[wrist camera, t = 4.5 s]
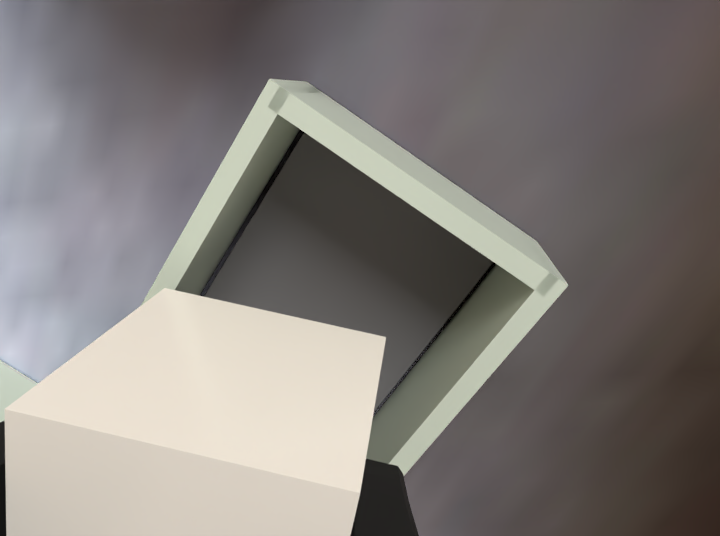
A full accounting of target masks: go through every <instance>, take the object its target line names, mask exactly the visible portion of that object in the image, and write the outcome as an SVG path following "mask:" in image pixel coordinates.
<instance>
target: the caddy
mask: <svg viewBox="0 0 720 536" xmlns="http://www.w3.org/2000/svg"><path fill="white" fill-rule="evenodd" d="M299 130H302V131H303V132H305V133H306V134H308V135H309V136H311V137H312V138H314V139H315V140H316V141H318V142H319V143H321V144H322V145H324V146H325V147H327V148H328V149H330V150H331V151H332V152H334V153H335V154H337V155H338V156H340V157H341V158H343V159H344V160H346V161H347V162H349V163H350V164H351V165H353V166H354V167H356V168H357V169H359V170H360V171H362V172H363V173H365V174H366V175H367V176H369V177H370V178H372V179H373V180H375V181H376V182H378V183H379V184H381V185H382V186H384V187H385V188H386V189H388V190H389V191H391V192H392V193H394V194H395V195H397V196H398V197H400V198H401V199H402V200H404V201H405V202H407V203H408V204H410V205H411V206H413V207H414V208H416V209H417V210H418V211H420V212H421V213H423V214H424V215H426V216H427V217H429V218H430V219H432V220H433V221H435V222H436V223H437V224H439V225H440V226H442V227H443V228H445V229H446V230H448V231H449V232H451V233H452V234H453V235H455V236H456V237H458V238H459V239H461V240H462V241H464V242H465V243H467V244H468V245H470V246H471V247H472V248H474V249H475V250H477V251H478V252H480V253H481V254H483V255H484V256H486V257H487V258H488V259H490V260H491V261H493V262H494V263H496V264H495V266H494V267H493V268H492V269H491V271H490V272H489V273H488V274H487V276H486V277H485V278H484V279H483V281H482V282H481V283H480V284H479V286H478V287H477V288H476V289H475V291H474V292H473V293H472V294H471V296H470V297H469V298H468V299H467V301H466V302H465V303H464V304H463V306H462V307H461V308H460V309H459V311H458V312H457V313H456V314H455V316H454V317H453V318H452V319H451V321H450V322H449V323H448V324H447V326H446V327H445V328H444V329H443V331H442V332H441V333H440V334H439V336H438V337H437V338H436V339H435V341H434V342H433V343H432V344H431V346H430V347H429V348H428V349H427V351H426V352H425V353H424V354H423V356H422V357H421V358H420V359H419V361H418V362H417V363H416V364H415V366H414V367H413V368H412V369H411V371H410V372H409V373H408V374H407V376H406V377H405V378H404V379H403V381H402V382H401V383H400V385H399V386H398V387H397V388H396V390H395V391H394V392H393V393H392V395H391V396H390V397H389V398H388V400H387V401H386V402H385V403H384V405H383V406H382V407H381V408H380V410H379V411H378V412H377V413H376V415H375V416H374V417H373V419H372V425H371V431H370V437H369V443H368V449H367V455H366V459H370V460H374V461H379V462H383V463H387V464H392V465H396V466H398V467H399V468H400V470H401V471H402V473H403V476H404V475H405V474H406V473H407V472H408V471H409V469H410V468H411V467H412V466H413V465H414V464H415V462H416V461H417V460H418V459H419V458H420V457H421V455H422V454H423V453H424V452H425V451H426V450H427V449H428V447H429V446H430V445H431V444H432V443H433V442H434V440H435V439H436V438H437V437H438V436H439V435H440V433H441V432H442V431H443V430H444V429H445V428H446V427H447V425H448V424H449V423H450V422H451V421H452V420H453V418H454V417H455V416H456V415H457V414H458V413H459V411H460V410H461V409H462V408H463V407H464V406H465V404H466V403H467V402H468V401H469V400H470V399H471V398H472V396H473V395H474V394H475V393H476V392H477V391H478V389H479V388H480V387H481V386H482V385H483V384H484V382H485V381H486V380H487V379H488V378H489V377H490V376H491V374H492V373H493V372H494V371H495V370H496V369H497V367H498V366H499V365H500V364H501V363H502V362H503V360H504V359H505V358H506V357H507V356H508V355H509V353H510V352H511V351H512V350H513V349H514V348H515V347H516V345H517V344H518V343H519V342H520V341H521V340H522V338H523V337H524V336H525V335H526V334H527V333H528V331H529V330H530V329H531V328H532V327H533V326H534V325H535V323H536V322H537V321H538V320H539V319H540V318H541V316H542V315H543V314H544V313H545V312H546V311H547V309H548V308H549V307H550V306H551V305H552V304H553V302H554V301H555V300H556V299H557V298H558V297H559V296H560V294H561V293H562V292H563V291H564V290H565V289H566V287H567V286H568V284H567V283H566V281H565V280H564V278H563V277H562V276H561V274H560V273H559V271H558V270H557V269H556V267H555V266H554V265H553V263H552V262H551V260H550V259H549V258H548V256H547V255H546V253H545V252H544V251H543V249H542V248H541V247H540V245H539V244H538V242H537V241H536V240H534V239H533V238H531V237H530V236H528V235H527V234H526V233H524V232H523V231H521V230H520V229H518V228H517V227H516V226H514V225H513V224H511V223H510V222H508V221H507V220H505V219H504V218H503V217H501V216H500V215H498V214H497V213H495V212H494V211H492V210H491V209H490V208H488V207H487V206H485V205H484V204H482V203H481V202H479V201H478V200H477V199H475V198H474V197H472V196H471V195H469V194H468V193H467V192H465V191H464V190H462V189H461V188H459V187H458V186H456V185H455V184H454V183H452V182H451V181H449V180H448V179H446V178H445V177H443V176H442V175H441V174H439V173H438V172H436V171H435V170H433V169H432V168H430V167H429V166H428V165H426V164H425V163H423V162H422V161H420V160H419V159H418V158H416V157H415V156H413V155H412V154H410V153H409V152H407V151H406V150H405V149H403V148H402V147H400V146H399V145H397V144H396V143H394V142H393V141H392V140H390V139H389V138H387V137H386V136H384V135H383V134H382V133H380V132H379V131H377V130H376V129H374V128H373V127H371V126H370V125H369V124H367V123H366V122H364V121H363V120H361V119H360V118H358V117H357V116H356V115H354V114H353V113H351V112H350V111H348V110H347V109H345V108H344V107H343V106H341V105H340V104H338V103H337V102H335V101H334V100H333V99H331V98H330V97H328V96H327V95H325V94H324V93H322V92H321V91H320V90H318V89H317V88H315V87H314V86H312V85H311V84H309V83H308V82H305V81H292V80H279V79H269V81H268V82H267V84H266V86H265V88H264V89H263V91H262V93H261V95H260V96H259V98H258V100H257V102H256V103H255V105H254V107H253V109H252V110H251V112H250V114H249V116H248V118H247V119H246V121H245V123H244V125H243V126H242V128H241V130H240V132H239V133H238V135H237V137H236V139H235V140H234V142H233V144H232V146H231V148H230V149H229V151H228V153H227V155H226V156H225V158H224V160H223V162H222V163H221V165H220V167H219V169H218V170H217V172H216V174H215V176H214V177H213V179H212V181H211V183H210V185H209V186H208V188H207V190H206V192H205V193H204V195H203V197H202V199H201V200H200V202H199V204H198V206H197V207H196V209H195V211H194V213H193V215H192V216H191V218H190V220H189V222H188V223H187V225H186V227H185V229H184V230H183V232H182V234H181V236H180V237H179V239H178V241H177V243H176V245H175V246H174V248H173V250H172V252H171V253H170V255H169V257H168V259H167V260H166V262H165V264H164V266H163V267H162V269H161V271H160V273H159V274H158V276H157V278H156V280H155V282H154V283H153V285H152V287H151V289H150V290H149V292H148V294H147V296H146V297H145V299H144V301H143V303H142V304H141V305H143V304H144V303H145V302H147V301H148V300H149V299H151V298H152V297H153V296H155V295H156V294H157V293H159V292H160V291H161V290H163V289H164V288H167V289H172V290H176V291H181V292H185V293H190V294H194V295H199V296H200V294H201V292H202V291H203V289H204V287H205V286H206V284H207V282H208V281H209V279H210V277H211V276H212V274H213V272H214V271H215V269H216V268H217V266H218V264H219V263H220V261H221V259H222V258H223V256H224V254H225V253H226V251H227V249H228V248H229V246H230V244H231V243H232V241H233V239H234V238H235V236H236V234H237V233H238V231H239V230H240V228H241V226H242V225H243V223H244V221H245V220H246V218H247V216H248V215H249V213H250V211H251V210H252V208H253V206H254V205H255V203H256V201H257V200H258V198H259V196H260V195H261V193H262V192H263V190H264V188H265V187H266V185H267V183H268V182H269V180H270V178H271V177H272V175H273V173H274V172H275V170H276V168H277V167H278V165H279V163H280V162H281V160H282V158H283V157H284V155H285V153H286V152H287V150H288V149H289V147H290V145H291V144H292V142H293V140H294V139H295V137H296V135H297V134H298V132H299ZM37 384H38V383H36V382H35V381H33V380H31V379H30V378H28V377H27V376H25V375H23V374H22V373H20V372H18V371H17V370H15V369H14V368H12V367H10V366H9V365H7V364H6V363H4V362H2V361H1V360H0V422H2V421H5V411H4V409H5V408H6V407H8V406H9V405H10V404H12V403H13V402H14V401H16V400H17V399H18V398H20V397H21V396H22V395H24V394H25V393H26V392H28V391H29V390H30V389H32V388H33V387H34V386H36V385H37Z"/></svg>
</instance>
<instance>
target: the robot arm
mask: <svg viewBox="0 0 720 536" xmlns="http://www.w3.org/2000/svg"><path fill="white" fill-rule="evenodd" d="M0 536H6V479H5V421H2V422H0ZM350 536H419V535H418V532H417V528H416V525H415V522H414V518H413V515H412V511H411V508H410V504H409V500H408V496H407V492H406V487H405V482H404V476H403V473H402V471H401V470H400V468H399V467H398V466H396V465H392V464H387V463H383V462H379V461H374V460H370V459H366V461H365V467H364V473H363V479H362V485H361V491H360V496H359V501H358V505H357V509H356V514H355V518H354V522H353V527H352V531H351V535H350Z"/></svg>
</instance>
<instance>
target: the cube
mask: <svg viewBox="0 0 720 536" xmlns="http://www.w3.org/2000/svg"><path fill="white" fill-rule="evenodd" d="M385 341H386V337H383V336H379V335H374V334H370V333H365V332H361V331H356V330H352V329H347V328H343V327H338V326H334V325H329V324H325V323H320V322H316V321H311V320H307V319H302V318H298V317H293V316H289V315H284V314H280V313H275V312H271V311H266V310H262V309H257V308H253V307H248V306H244V305H239V304H235V303H230V302H226V301H221V300H217V299H212V298H208V297H203V296H199V295H194V294H190V293H185V292H181V291H176V290H172V289H167V288H164V289H163V290H161V291H160V292H159V293H157V294H156V295H155V296H153V297H152V298H151V299H149V300H148V301H147V302H145V303H144V304H143V305H141V306H140V307H139V308H137V309H136V310H135V311H133V312H132V313H131V314H130V315H128V316H127V317H126V318H124V319H123V320H122V321H120V322H119V323H118V324H116V325H115V326H114V327H112V328H111V329H110V330H108V331H107V332H106V333H104V334H103V335H102V336H100V337H99V338H98V339H96V340H95V341H94V342H92V343H91V344H90V345H89V346H87V347H86V348H85V349H83V350H82V351H81V352H79V353H78V354H77V355H75V356H74V357H73V358H71V359H70V360H69V361H67V362H66V363H65V364H63V365H62V366H61V367H59V368H58V369H57V370H55V371H54V372H53V373H51V374H50V375H49V376H47V377H46V378H45V379H44V380H42V381H41V382H40V383H38V384H37V385H36V386H34V387H33V388H32V389H30V390H29V391H28V392H26V393H25V394H24V395H22V396H21V397H20V398H18V399H17V400H16V401H14V402H13V403H12V404H10V405H9V406H8V407H6V408H5V409H4V411H5V479H6V536H350V535H351V531H352V527H353V522H354V518H355V514H356V509H357V505H358V501H359V496H360V491H361V485H362V479H363V473H364V467H365V461H366V455H367V449H368V443H369V437H370V431H371V425H372V419H373V413H374V407H375V401H376V395H377V389H378V383H379V377H380V371H381V365H382V359H383V353H384V347H385Z"/></svg>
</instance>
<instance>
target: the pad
mask: <svg viewBox="0 0 720 536" xmlns="http://www.w3.org/2000/svg"><path fill="white" fill-rule="evenodd" d="M492 263H493V261H491V260H490V259H488V258H487V257H486V256H484V255H483V254H481V253H480V252H478V251H477V250H475V249H474V248H472V247H471V246H470V245H468V244H467V243H465V242H464V241H462V240H461V239H459V238H458V237H456V236H455V235H453V234H452V233H451V232H449V231H448V230H446V229H445V228H443V227H442V226H440V225H439V224H437V223H436V222H435V221H433V220H432V219H430V218H429V217H427V216H426V215H424V214H423V213H421V212H420V211H418V210H417V209H416V208H414V207H413V206H411V205H410V204H408V203H407V202H405V201H404V200H402V199H401V198H400V197H398V196H397V195H395V194H394V193H392V192H391V191H389V190H388V189H386V188H385V187H384V186H382V185H381V184H379V183H378V182H376V181H375V180H373V179H372V178H370V177H369V176H367V175H366V174H365V173H363V172H362V171H360V170H359V169H357V168H356V167H354V166H353V165H351V164H350V163H349V162H347V161H346V160H344V159H343V158H341V157H340V156H338V155H337V154H335V153H334V152H332V151H331V150H330V149H328V148H327V147H325V146H324V145H322V144H321V143H319V142H318V141H316V140H315V139H314V138H312V137H311V136H309V135H308V134H306V133H305V132H304V133H303V135H302V137H301V138H300V140H299V142H298V143H297V145H296V146H295V148H294V150H293V151H292V153H291V155H290V156H289V158H288V160H287V161H286V163H285V165H284V166H283V168H282V169H281V171H280V173H279V174H278V176H277V178H276V179H275V181H274V183H273V184H272V186H271V188H270V189H269V191H268V192H267V194H266V196H265V197H264V199H263V201H262V202H261V204H260V206H259V207H258V209H257V211H256V212H255V214H254V215H253V217H252V219H251V220H250V222H249V224H248V225H247V227H246V229H245V230H244V232H243V234H242V235H241V237H240V238H239V240H238V242H237V243H236V245H235V247H234V248H233V250H232V252H231V253H230V255H229V257H228V258H227V260H226V261H225V263H224V265H223V266H222V268H221V270H220V271H219V273H218V275H217V276H216V278H215V280H214V281H213V283H212V284H211V286H210V288H209V289H208V291H207V293H206V294H205V296H204V297H208V298H212V299H217V300H221V301H226V302H230V303H235V304H239V305H244V306H248V307H253V308H257V309H262V310H266V311H271V312H275V313H280V314H284V315H289V316H293V317H298V318H302V319H307V320H311V321H316V322H320V323H325V324H329V325H334V326H338V327H343V328H347V329H352V330H356V331H361V332H365V333H370V334H374V335H379V336H383V337H386V341H385V347H384V353H383V359H382V365H381V371H380V377H379V383H378V389H377V395H376V401H375V407H374V411H375V410H376V409H377V408H378V406H379V405H380V404H381V403H382V401H383V400H384V399H385V398H386V396H387V395H388V394H389V393H390V391H391V390H392V389H393V388H394V386H395V385H396V384H397V383H398V381H399V380H400V379H401V378H402V376H403V375H404V374H405V373H406V371H407V370H408V369H409V368H410V366H411V365H412V364H413V363H414V361H415V360H416V359H417V357H418V356H419V355H420V354H421V352H422V351H423V350H424V349H425V347H426V346H427V345H428V344H429V342H430V341H431V340H432V339H433V337H434V336H435V335H436V334H437V332H438V331H439V330H440V329H441V327H442V326H443V325H444V324H445V322H446V321H447V320H448V319H449V317H450V316H451V315H452V314H453V312H454V311H455V310H456V309H457V307H458V306H459V305H460V303H461V302H462V301H463V300H464V298H465V297H466V296H467V295H468V293H469V292H470V291H471V290H472V288H473V287H474V286H475V285H476V283H477V282H478V281H479V280H480V278H481V277H482V276H483V275H484V273H485V272H486V271H487V270H488V268H489V267H490V266H491V265H492Z"/></svg>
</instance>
